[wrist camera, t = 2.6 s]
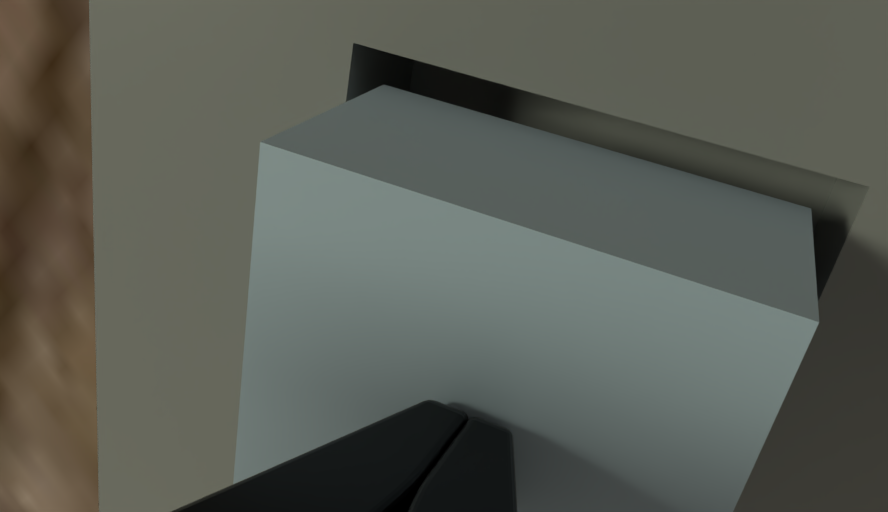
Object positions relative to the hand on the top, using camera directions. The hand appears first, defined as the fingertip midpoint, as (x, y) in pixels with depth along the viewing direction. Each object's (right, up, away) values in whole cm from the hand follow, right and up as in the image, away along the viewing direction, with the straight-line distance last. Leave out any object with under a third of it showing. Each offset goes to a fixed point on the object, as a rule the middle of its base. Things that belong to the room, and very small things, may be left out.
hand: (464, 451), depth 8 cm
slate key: (+1, +1, +2) cm, 3 cm away
